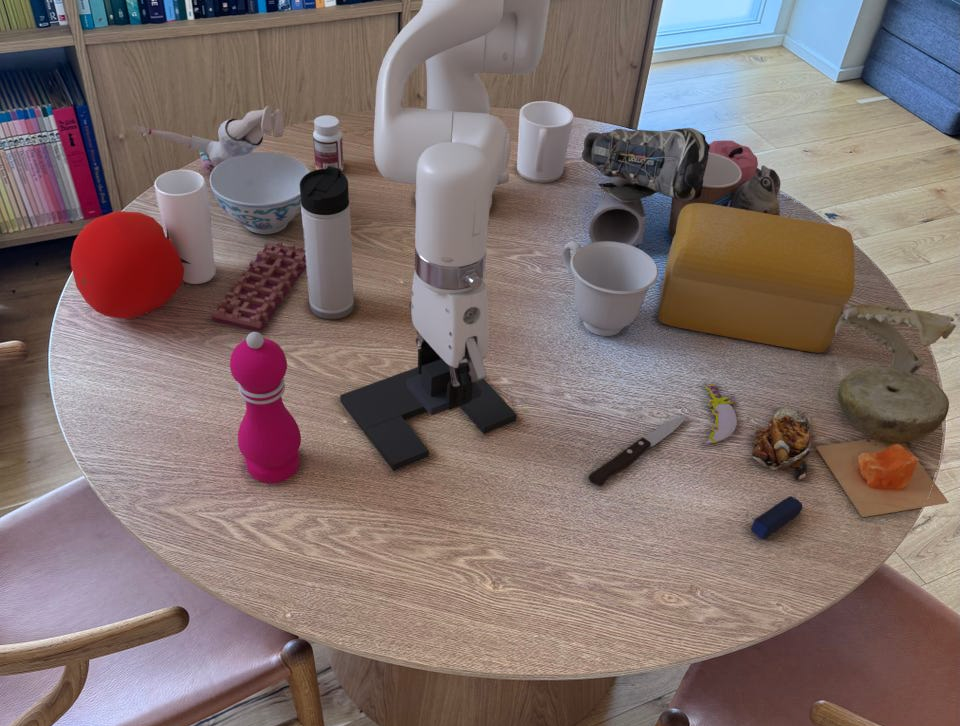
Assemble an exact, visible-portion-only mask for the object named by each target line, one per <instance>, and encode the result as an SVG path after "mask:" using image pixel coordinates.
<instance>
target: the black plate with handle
mask: <svg viewBox="0 0 960 726" xmlns="http://www.w3.org/2000/svg"><path fill="white" fill-rule="evenodd" d="M466 372H467V370H466V364H462V365H459V366H458V373H459V375H460V374H463V373H466ZM450 381H451V377H450V371H449V366H448V364H447V363H446V362H445V361H444V360H443V359H440V360H437V361H434V362H432V363H429V364H426V365H423V366H422V367H421V374H420V375H417V376H414V377H411V378H409V379H407V380H406V386H407V388H408V389H409V390H410V391H411V392H412V394H413V395H414V396H415V397H416V398H417V399H418V401H419V402H420V403H421V404H422V405H423V407H424V408H425V409H426V410H427V411H428V412H427V413H428V414H429V415H430V416H431V417H432V416H436V415H437V414H440V413H442V412H446V411H448V410H449V409H448V408H447V385H448V382H450ZM479 397H481V389H480V388H479V387H478V386H477V384H476V383H475V382H473V388H472V400H474V399H476V398H479Z"/></svg>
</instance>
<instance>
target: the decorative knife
mask: <svg viewBox="0 0 960 726" xmlns="http://www.w3.org/2000/svg"><path fill="white" fill-rule="evenodd" d="M704 388H705V389H706V390H707V391H708V392H709V394H710V396H711V398H712V399H708V400H706V401H707V402H708V403H707V406H708V407H709V408H713V409H712V410H711V413H712V415H714V416H715V420H714V421H715V422H714V423H715V424H714V425H713V426H711V431H712V432H711V433H710V435H709V439H707V440H706V441H705V442H704V444H717V442H722V441H723V440H725V439H727V438H729V437H730V436H731V435H732V434H733V433H734V431H735V430H736V428H737V415H736V411H735V410H734V408H733V406H732V405H733V404H734V400H732V399H730V398H731V396H728V397H727V396H724V397H719V394H718V392H717V389H716V388H718V385H717V384H713V383H708V384H706V385H705V387H704Z"/></svg>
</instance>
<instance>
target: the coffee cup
mask: <svg viewBox="0 0 960 726" xmlns="http://www.w3.org/2000/svg"><path fill="white" fill-rule="evenodd" d="M708 153H709V152H708ZM738 176H739V177H738ZM741 176H742V173H741V169H740V168H739V166H738V165H737V164H736V163H735V162H733V161H732V160H730V159H728V158H726V157H724V156H721V155H718V154H714V153H709V155H708V161H707V165H706V169H705V173H704V177H703V186H702V190H701V196H700V197H699V198H697V199H693V200H691V201H683V200H678V199H676V198H673V197H671V203H670V204H671V205H670V212H669V221H668V234H669V237H670V238H671V240H672V241H673V238H674V236H675V234H676V227H677V221H678V217H679V214H680V212H681V210H682V209H683V208H684V207H685V205H688V204H692V203H706V204H714V205H720V206H726V207H729V204H730V202H731V200H730V198H731V196H732V192H733V191H734V189H735V187H736V184H737V182H738V181H739V180H740V179H741ZM673 210H674V211H673Z"/></svg>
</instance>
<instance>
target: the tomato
mask: <svg viewBox="0 0 960 726" xmlns="http://www.w3.org/2000/svg"><path fill="white" fill-rule="evenodd" d="M182 263H188V264H191V263H189V262H187V261H185V260H183V259H181V258H180V256H179V254H178V251H177V250H176V248H175V247H174V245H173V244H172V242H171V241H170V240H169V235H168V229H167V234H166V233H165V229H164V226H162V225H161V224H160V223H159V222H158V221H157V220H156V219H155V218H154V217H153V216H150V215H147V214H145V213H143V212H139V211H125V210H116V211H113V212H110V213H107V214H103V215H101V216H98V217H96V218H94V219H93V220H92V221H89V223H87V224H86V225H85V226H84V227H83V229H81V230H80V231H79V233H78V235H77V236H76V238H75V240H74V242H73V245H72V250H71V254H70V267H71V271H72V275H73V279H74V282H75V286H76V289H77V290H78V291H79V293H80V295H81V296H82V297H83V300H84V301H85V302H86V304H87V305H89V306H90V307H91V308H92V309H93V310H94V311H95V312H96V313H98V314H101V315H103V316H105V317H110V318H115V319H122V320H123V319H125V320H126V319H135V318H138V317H140V316H143V315H146V314H148V313H150V312H153V311H155V310H157V309H160V308H161V307H162V306H164V305H165V304H166V303H167V302H168V301H170V299H171V298H172V297H173V296H174V295H175V294H176V293H177V291H178V290H179V289H180V288H181V286H182V285H184V286H185V287H187V286H186V285H187V284H186V282H184V281H183V275H184V267H183V264H182Z"/></svg>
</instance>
